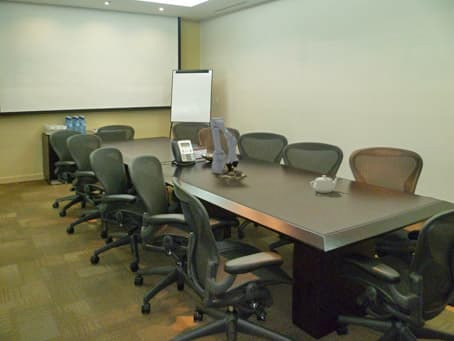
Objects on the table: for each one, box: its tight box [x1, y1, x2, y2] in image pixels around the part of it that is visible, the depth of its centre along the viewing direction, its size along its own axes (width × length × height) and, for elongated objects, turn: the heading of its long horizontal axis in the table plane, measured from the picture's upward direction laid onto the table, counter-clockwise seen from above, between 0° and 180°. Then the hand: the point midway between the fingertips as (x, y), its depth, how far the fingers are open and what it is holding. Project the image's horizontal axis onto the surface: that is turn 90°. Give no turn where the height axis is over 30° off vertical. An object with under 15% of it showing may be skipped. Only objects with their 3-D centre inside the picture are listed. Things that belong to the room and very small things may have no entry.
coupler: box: [229, 166, 238, 176], centre depth 312 cm, size 4×4×6 cm
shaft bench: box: [217, 168, 247, 180], centre depth 313 cm, size 17×14×5 cm
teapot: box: [309, 174, 340, 194], centre depth 266 cm, size 22×14×11 cm, turn 111°
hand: (232, 171), depth 312 cm, fingers open, 7 cm apart
